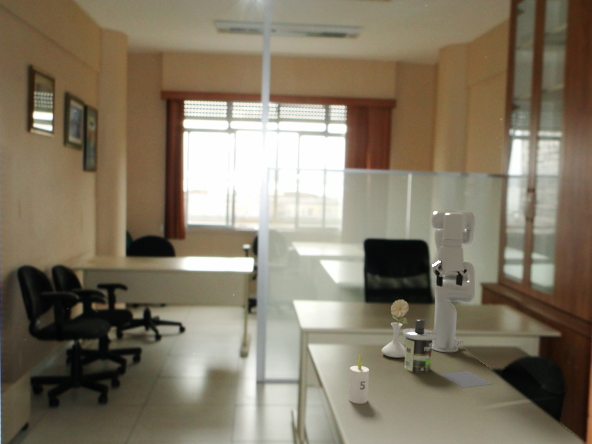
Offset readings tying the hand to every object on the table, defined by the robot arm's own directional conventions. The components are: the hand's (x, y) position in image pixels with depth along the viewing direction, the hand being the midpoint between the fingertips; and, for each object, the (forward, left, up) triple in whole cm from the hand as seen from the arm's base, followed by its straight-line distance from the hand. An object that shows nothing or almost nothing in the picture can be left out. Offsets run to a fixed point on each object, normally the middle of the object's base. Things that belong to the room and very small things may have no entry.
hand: (449, 285), depth 213 cm
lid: (+15, +2, -19) cm, 24 cm away
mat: (+4, +17, -33) cm, 37 cm away
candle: (+52, +21, -33) cm, 65 cm away
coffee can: (+15, +2, -33) cm, 36 cm away
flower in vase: (+13, -16, -33) cm, 39 cm away
